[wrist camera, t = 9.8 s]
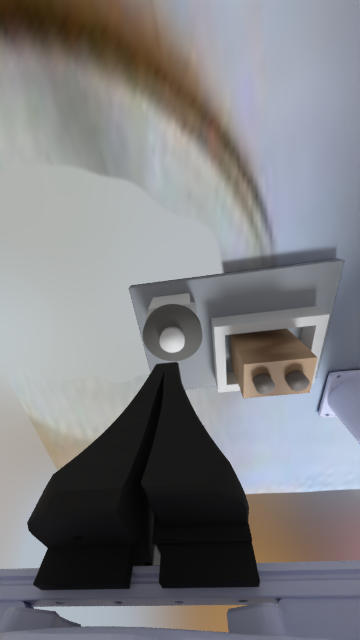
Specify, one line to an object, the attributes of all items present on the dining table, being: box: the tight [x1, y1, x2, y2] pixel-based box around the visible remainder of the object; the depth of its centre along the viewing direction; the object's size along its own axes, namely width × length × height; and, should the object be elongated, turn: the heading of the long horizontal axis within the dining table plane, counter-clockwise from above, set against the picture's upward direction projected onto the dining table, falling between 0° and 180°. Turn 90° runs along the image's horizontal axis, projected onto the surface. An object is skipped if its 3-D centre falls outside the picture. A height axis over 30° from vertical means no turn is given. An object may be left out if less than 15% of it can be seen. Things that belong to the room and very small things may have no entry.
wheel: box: [143, 293, 203, 361], centre depth 17 cm, size 5×5×5 cm
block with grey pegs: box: [230, 329, 318, 398], centre depth 18 cm, size 6×4×6 cm, turn 98°
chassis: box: [129, 259, 344, 392], centre depth 20 cm, size 20×14×4 cm
